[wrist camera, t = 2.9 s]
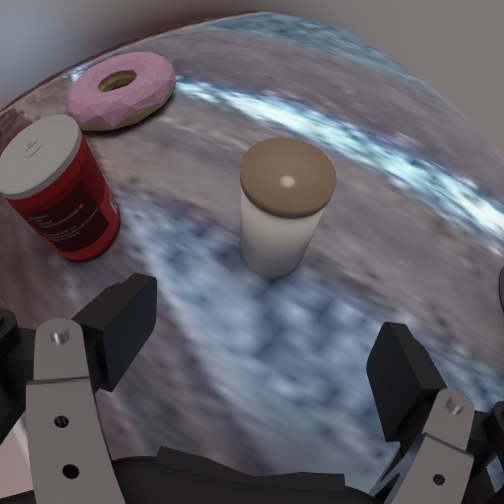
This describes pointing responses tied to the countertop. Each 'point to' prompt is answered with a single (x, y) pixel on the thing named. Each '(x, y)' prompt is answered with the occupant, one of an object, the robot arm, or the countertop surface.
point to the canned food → (59, 188)
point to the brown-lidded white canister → (281, 203)
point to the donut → (120, 91)
